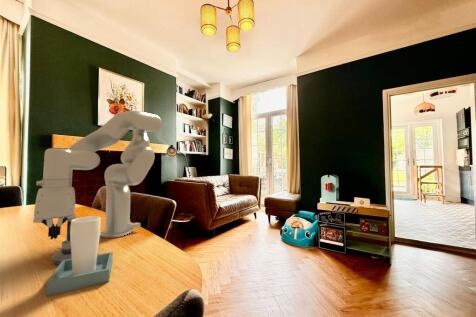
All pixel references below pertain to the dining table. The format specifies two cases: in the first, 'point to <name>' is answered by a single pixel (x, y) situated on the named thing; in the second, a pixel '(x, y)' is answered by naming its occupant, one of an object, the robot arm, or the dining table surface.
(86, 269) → the drinking glass
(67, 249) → the crank
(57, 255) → the crank stand
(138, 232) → the dining table surface
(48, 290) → the tray
